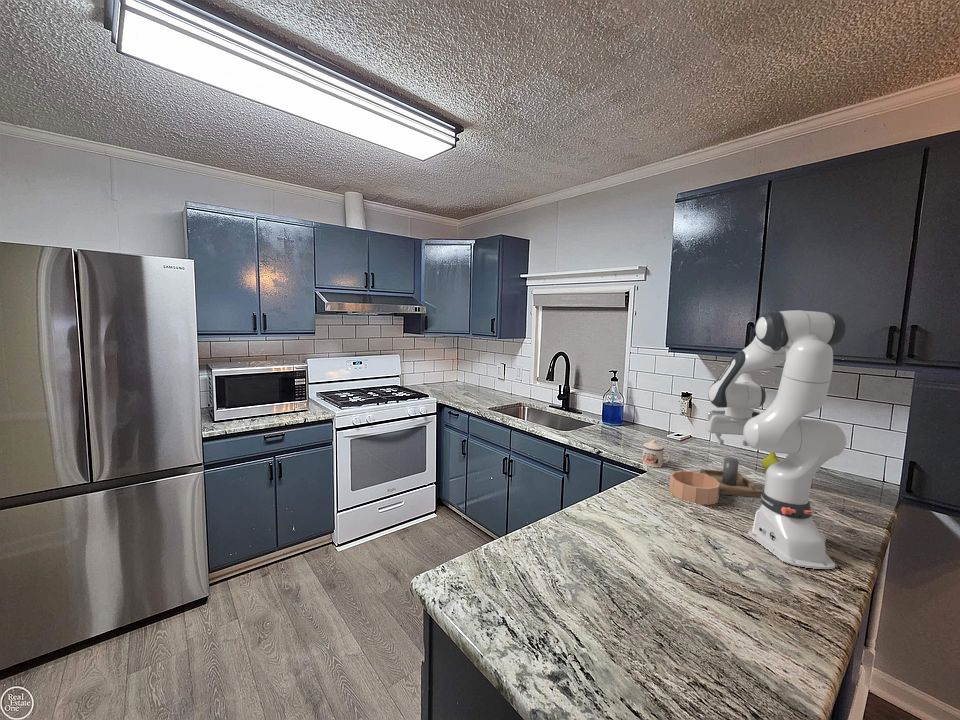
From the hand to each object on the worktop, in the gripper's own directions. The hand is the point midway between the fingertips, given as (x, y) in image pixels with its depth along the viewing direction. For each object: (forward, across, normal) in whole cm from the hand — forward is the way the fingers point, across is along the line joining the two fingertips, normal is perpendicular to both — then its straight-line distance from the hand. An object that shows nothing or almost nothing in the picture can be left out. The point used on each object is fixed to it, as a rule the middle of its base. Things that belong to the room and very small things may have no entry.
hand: (733, 444), depth 163 cm
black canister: (+17, 0, +1) cm, 17 cm away
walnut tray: (+18, 0, +1) cm, 18 cm away
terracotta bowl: (+18, -18, -11) cm, 28 cm away
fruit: (+17, +26, +21) cm, 38 cm away
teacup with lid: (+17, -24, +19) cm, 35 cm away
